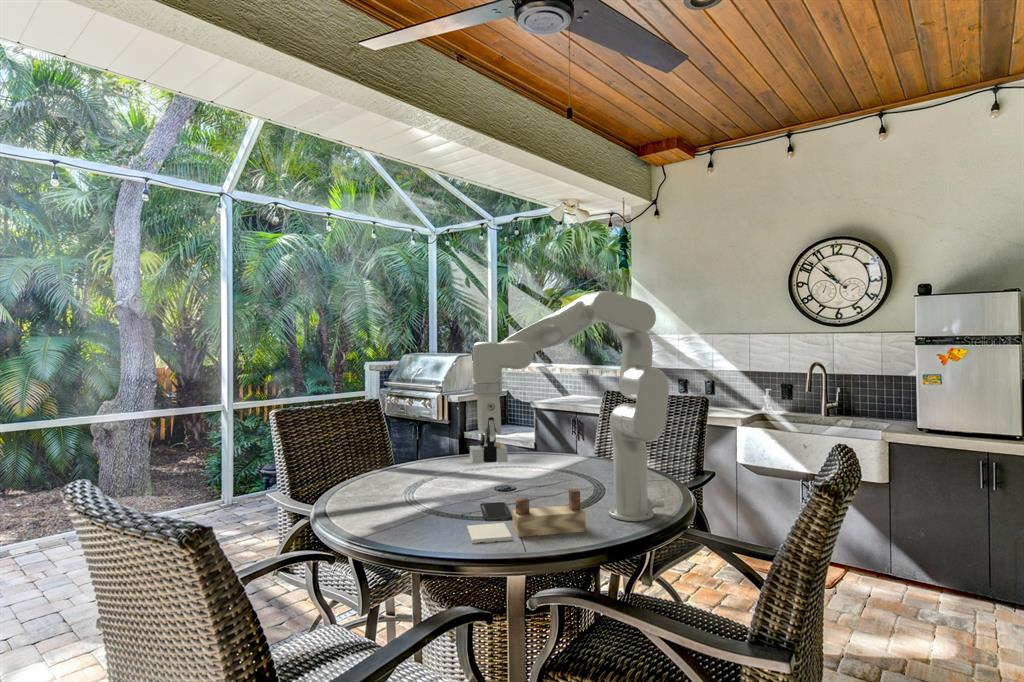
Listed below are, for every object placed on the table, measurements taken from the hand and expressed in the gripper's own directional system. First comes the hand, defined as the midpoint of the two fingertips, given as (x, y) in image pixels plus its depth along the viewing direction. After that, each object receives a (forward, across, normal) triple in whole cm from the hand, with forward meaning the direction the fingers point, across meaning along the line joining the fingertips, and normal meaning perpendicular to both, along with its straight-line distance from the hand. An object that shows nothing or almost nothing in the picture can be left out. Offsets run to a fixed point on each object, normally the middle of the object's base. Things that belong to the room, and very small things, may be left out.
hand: (488, 458), depth 149 cm
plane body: (+20, 0, -16) cm, 25 cm away
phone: (+20, +19, -5) cm, 28 cm away
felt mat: (+20, 0, 0) cm, 20 cm away
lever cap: (0, 0, 0) cm, 0 cm away
